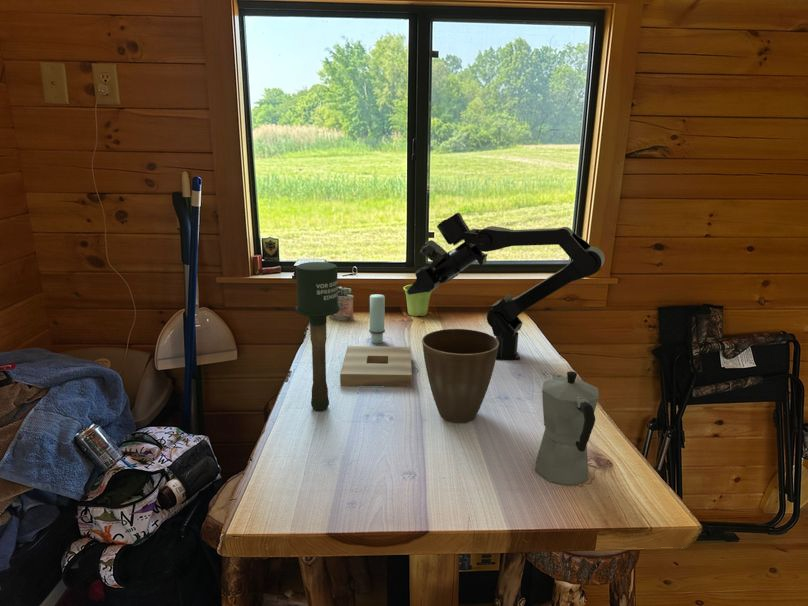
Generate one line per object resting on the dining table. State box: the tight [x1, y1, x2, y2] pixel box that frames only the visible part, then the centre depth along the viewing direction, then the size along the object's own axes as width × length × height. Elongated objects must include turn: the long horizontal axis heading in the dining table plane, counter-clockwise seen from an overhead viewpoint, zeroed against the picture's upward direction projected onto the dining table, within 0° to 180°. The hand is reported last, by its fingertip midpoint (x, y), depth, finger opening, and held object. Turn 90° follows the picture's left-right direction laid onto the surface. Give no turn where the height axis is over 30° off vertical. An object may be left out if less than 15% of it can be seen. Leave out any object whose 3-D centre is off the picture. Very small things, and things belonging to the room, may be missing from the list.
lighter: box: [328, 286, 355, 322], centre depth 175 cm, size 8×3×10 cm, turn 73°
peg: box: [368, 293, 386, 345], centre depth 154 cm, size 4×4×13 cm
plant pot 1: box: [403, 284, 433, 317], centre depth 181 cm, size 9×9×9 cm
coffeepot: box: [534, 370, 600, 486], centre depth 92 cm, size 15×9×18 cm, turn 6°
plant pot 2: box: [421, 328, 499, 424], centre depth 113 cm, size 15×15×16 cm
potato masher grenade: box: [295, 261, 340, 412], centre depth 112 cm, size 8×9×30 cm
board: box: [339, 345, 413, 388], centre depth 135 cm, size 18×16×3 cm
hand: (415, 289), depth 154 cm, fingers open, 9 cm apart
